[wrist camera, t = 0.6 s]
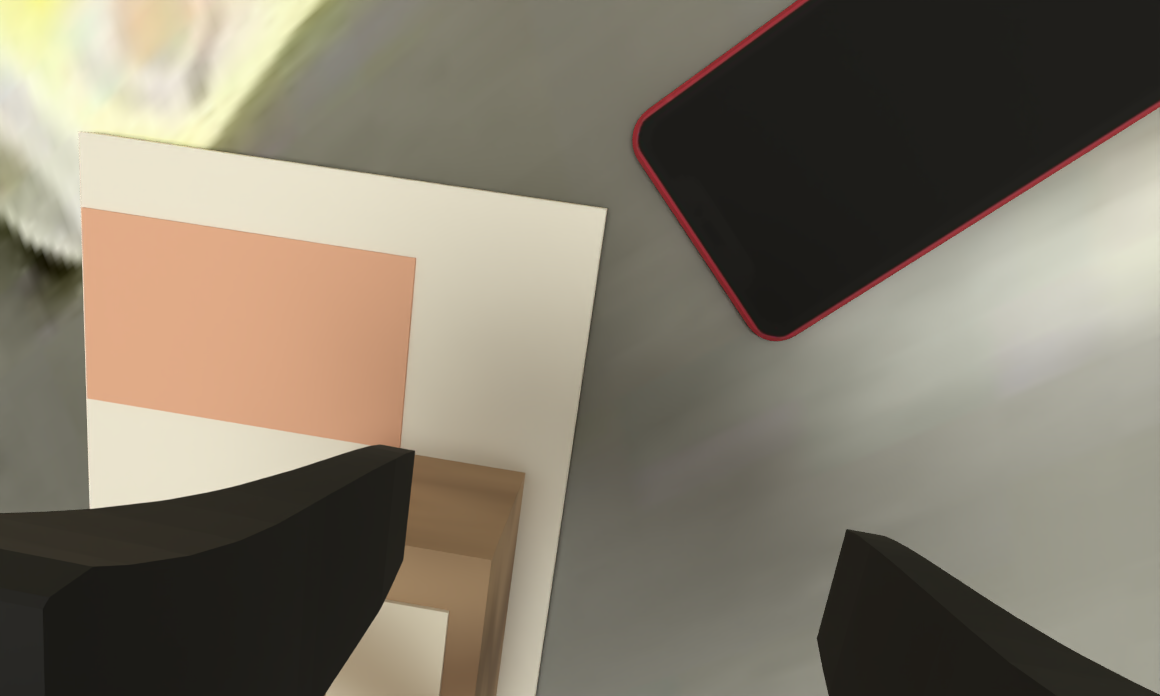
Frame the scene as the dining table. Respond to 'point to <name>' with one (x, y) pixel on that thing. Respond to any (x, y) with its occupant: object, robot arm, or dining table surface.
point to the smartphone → (884, 135)
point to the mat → (331, 333)
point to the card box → (444, 588)
